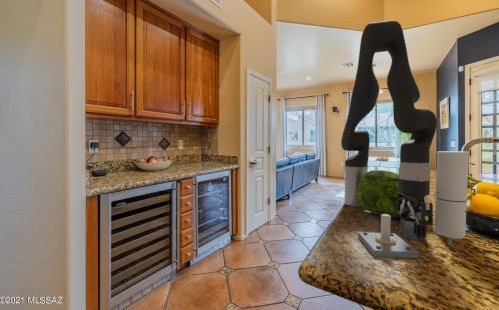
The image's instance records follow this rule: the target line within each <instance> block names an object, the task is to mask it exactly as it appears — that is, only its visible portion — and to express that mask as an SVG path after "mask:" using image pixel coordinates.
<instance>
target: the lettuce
mask: <svg viewBox="0 0 499 310" xmlns="http://www.w3.org/2000/svg"><path fill="white" fill-rule="evenodd" d="M398 190H399V173H398V172H397V173H396V172H393V171H389V170H380V169H379V170H378V169H376V170H369V171H368V172H367V173H365V174H364V175H363V176H362V178H361V180H360V182H359V185H358V189H357V200H358V203H359V204H360V205H361V207H360V208H362V209H364V210H366V211H368V212H369V213H372V214H374V215H377V216H380V217H381V215H382V214H387V215H390V216H391V219H401V215H400V213H399V211H397V194H398V193H400V192H399V191H398ZM424 200H425V202H426V203H430V198H429V195H427V196H425V197H424ZM400 206H401V205H400ZM409 216H410V217H413V216H412V213H410V214H409Z"/></svg>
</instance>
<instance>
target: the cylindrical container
mask: <svg viewBox="0 0 499 310" xmlns="http://www.w3.org/2000/svg"><path fill="white" fill-rule="evenodd" d="M469 154H470V153H469V151H458V150H457V151H450V150H443V151H440V150H439V151H438V150H437V151H436V175H435V176H436V177H435V178H436V180H435V203H434V204H435V207H434V208H435V209H434V233H435V234H436V235H438V236H442V237H444V238H449V239H453V240H454V239H455V240H463V238H464V239H465V238H466V231H467V227H466V226H467V225H466V224H467V204H468V203H467V200H468V180H469V179H468V177H469V176H468V175H469ZM465 211H466V212H465Z"/></svg>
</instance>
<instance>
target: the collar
mask: <svg viewBox="0 0 499 310" xmlns="http://www.w3.org/2000/svg"><path fill="white" fill-rule="evenodd" d="M416 224H417V223H416V220H415V218H414V217H413V216H410V217H403V218H400V230H399V231H400V237H402V238H404V239H407V240H412V241H424V240H425V239H423V238H418V237H416Z"/></svg>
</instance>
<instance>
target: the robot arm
mask: <svg viewBox="0 0 499 310" xmlns="http://www.w3.org/2000/svg"><path fill="white" fill-rule="evenodd" d="M405 39H406V38H405V35H404V30H403V28H402V24H400V22H398V21H397V20H385V21H376V22H369V23H367V25H365V26H364V29H363V30H362V34H361V39H360V45H359V53H358V61H357V62H358V63H357V68H356V69H357V70H356V75H355V80H354V84H353V88H352V92H351V97H350V104H349V108H348V113H347V114H348V115H347V119H346V122H345V125H344V128H343V132H342V135H341V141H340V143H341V149H342V150H343V151H346V152H347V151H348V152H358V153H357V154H356V155H354V156H352V157H350V158H347V159H345V160H344V202H345V203H344V205H347V206H349V207H356V208H362V207H361V205H360V204H359V203H358V200H357V189H358V185H359V182H360V180H361V178H362V176H363V175H364V174H365V173H367V172H369V171H368V168H369V166H368V165H369V156H370V155H369V154H370V151H369V150H370V141H371V140H370V133H369V131H368V130H366V129H357V127H358V125H359V124H360V122H361V121H362V120H364V119H365V118H366V117H367V116H368V115H369V114H370V113H371V112H372V111H373V109H374V108H375V107H376V104H377V102H378V97H379V93H380V85H379V81H378V79H377V77H376V75H375V72H374V69H373V65H374V64H373V63H374V58H375V57H374V56H375V53H385V52H388V54H389V55H390V58H391V63H390V68H389V71H388V73H387V77H386V85H387V90H388V93H389V95H390V99H391V100H392V104H393V105H392V112H393V122H394V125H395V127H396V129H397V130H398V131H400V132H401V133H402V134H403V133H404V134H411V135H410V138H409V140H408V141H406V142H404V143H402V144H401V145H400V153H399V154H400V156H399V167H398V174H399V190H398V191H399V192H400V193H398V194H397V211H399V213H400V215H401V218H403V217H414V218H415V220H416V223H417V224H416V237H418V238H423V239H424V240H425V239H426V238H427V226H433V225H434V217H433V216H434V210H433V209H434V205H433V202H429V203H426V202H425V200H424V197H425V196H429V195H430V189H431V187H430V186H431V167H430V152H431V151H430V148H431V146H432V144H433V140H434V137H435V134H436V130H437V127H438V126H437V125H438V120H437V116H436V114H435V113H434V112H433V111H432V110H430V109H427V108H426V109H425V108H416V107H415V103H417V102H418V101H419V100H420V98H421V92H420V90H419V87H418V85H417V82H416V81H415V78H414V75H413V72H412V70H411V66H410V61H409V56H408V49H407V45H406V44H407V43H406V40H405ZM400 205H401V206H400ZM410 213H412V216H409V214H410ZM401 218H400V219H401Z"/></svg>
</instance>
